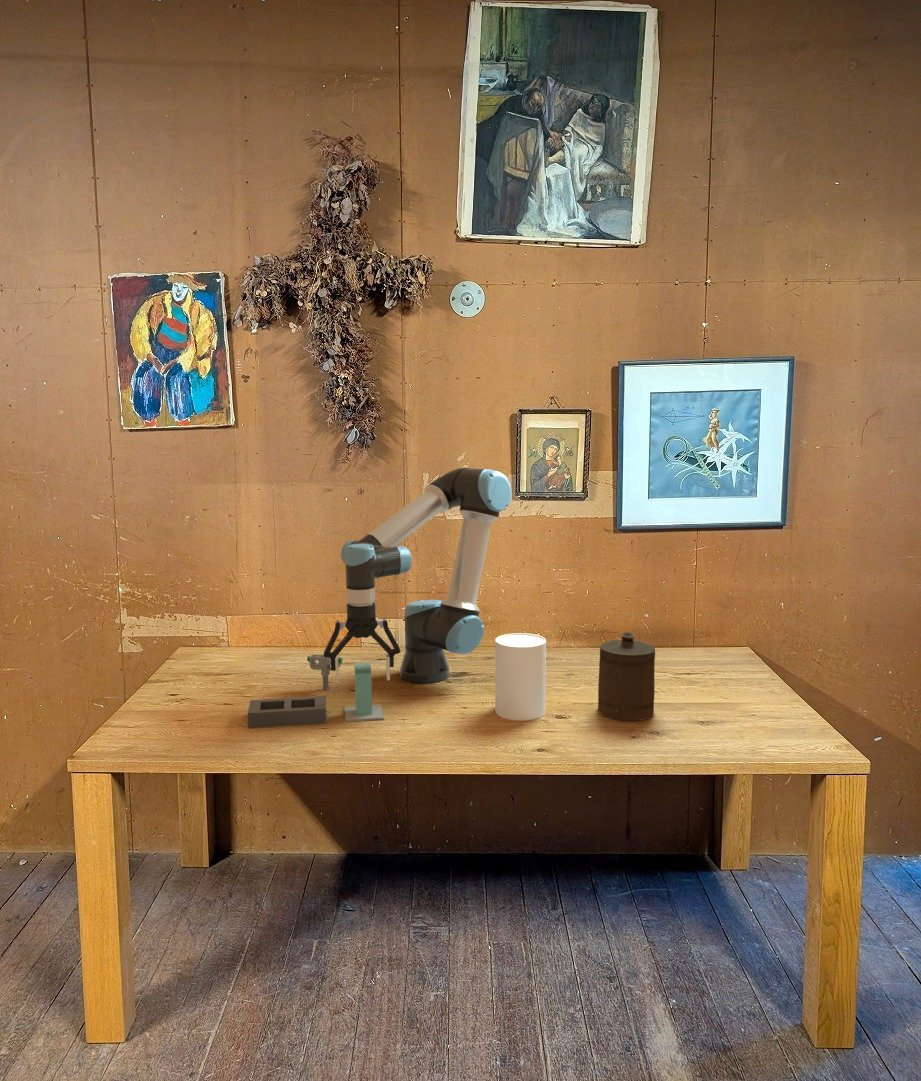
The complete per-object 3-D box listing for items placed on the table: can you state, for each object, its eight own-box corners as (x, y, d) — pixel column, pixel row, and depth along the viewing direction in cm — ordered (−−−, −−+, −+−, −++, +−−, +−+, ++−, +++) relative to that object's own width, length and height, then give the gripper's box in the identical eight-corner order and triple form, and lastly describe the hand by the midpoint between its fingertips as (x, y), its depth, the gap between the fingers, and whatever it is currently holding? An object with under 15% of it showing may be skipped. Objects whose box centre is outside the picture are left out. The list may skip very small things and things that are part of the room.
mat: (381, 706, 243) (381, 704, 243) (383, 719, 233) (383, 717, 233) (344, 708, 242) (344, 706, 242) (345, 722, 232) (345, 719, 232)
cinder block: (326, 709, 241) (325, 695, 240) (326, 723, 231) (325, 708, 231) (251, 714, 238) (250, 700, 237) (248, 728, 228) (247, 713, 228)
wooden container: (640, 700, 247) (642, 624, 243) (663, 719, 233) (665, 638, 229) (589, 704, 244) (591, 627, 240) (610, 724, 230) (612, 642, 226)
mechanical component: (340, 692, 255) (339, 658, 253) (307, 689, 257) (306, 656, 255) (344, 688, 258) (343, 655, 256) (311, 686, 260) (309, 653, 258)
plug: (371, 708, 240) (370, 662, 238) (372, 714, 236) (371, 667, 234) (355, 709, 239) (354, 663, 237) (356, 715, 235) (354, 668, 233)
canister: (555, 711, 239) (556, 639, 236) (522, 724, 230) (522, 650, 226) (518, 699, 248) (518, 630, 245) (485, 711, 239) (484, 640, 236)
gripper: (406, 597, 238) (407, 673, 242) (313, 601, 234) (315, 678, 238) (409, 604, 231) (410, 682, 234) (312, 608, 227) (315, 687, 230)
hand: (362, 680), depth 236 cm, fingers open, 13 cm apart
